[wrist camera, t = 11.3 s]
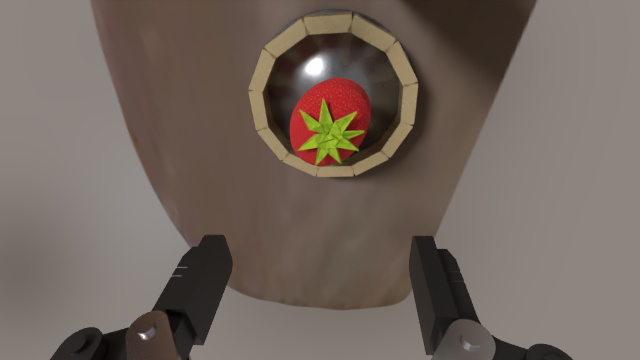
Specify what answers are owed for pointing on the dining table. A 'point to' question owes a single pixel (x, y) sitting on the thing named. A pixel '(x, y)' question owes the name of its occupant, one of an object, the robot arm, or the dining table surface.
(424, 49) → the dining table surface
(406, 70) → the tan rimmed round bowl
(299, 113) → the strawberry
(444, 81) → the dining table surface
